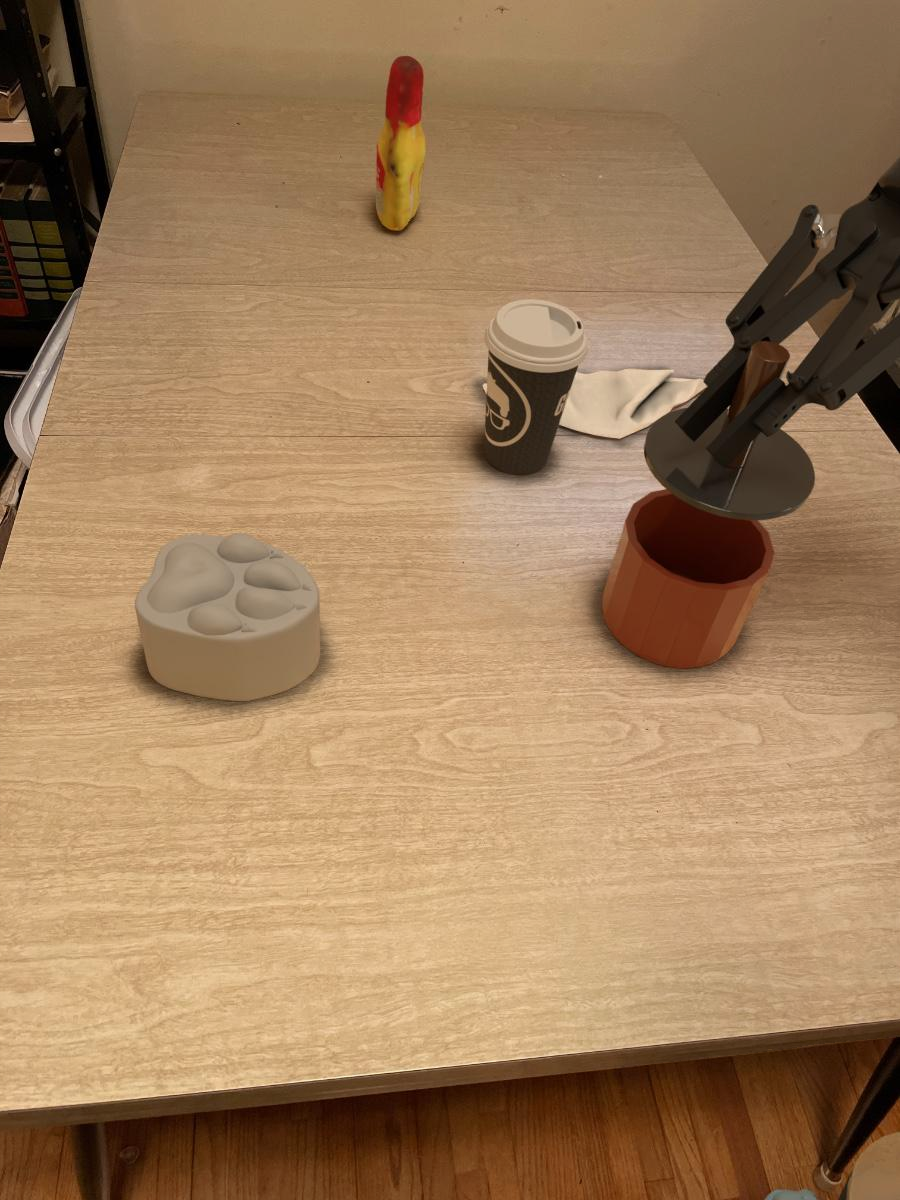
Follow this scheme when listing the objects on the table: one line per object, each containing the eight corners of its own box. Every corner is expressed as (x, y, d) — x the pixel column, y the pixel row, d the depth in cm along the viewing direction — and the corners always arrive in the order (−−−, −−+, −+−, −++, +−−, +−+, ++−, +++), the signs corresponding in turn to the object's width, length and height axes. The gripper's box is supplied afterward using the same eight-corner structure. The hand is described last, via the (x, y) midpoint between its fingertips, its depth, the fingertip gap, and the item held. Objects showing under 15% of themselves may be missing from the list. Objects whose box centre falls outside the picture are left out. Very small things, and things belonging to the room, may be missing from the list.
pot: (762, 650, 82) (803, 572, 75) (643, 682, 78) (674, 603, 71) (691, 556, 89) (722, 477, 82) (578, 582, 85) (600, 501, 79)
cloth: (484, 431, 99) (487, 413, 98) (480, 357, 109) (483, 339, 107) (730, 449, 101) (737, 431, 99) (705, 374, 110) (711, 357, 109)
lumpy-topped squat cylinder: (179, 589, 80) (167, 511, 74) (332, 613, 80) (333, 538, 74) (135, 685, 73) (118, 609, 67) (303, 713, 73) (301, 639, 67)
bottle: (413, 241, 126) (425, 77, 111) (365, 234, 126) (370, 69, 111) (425, 202, 134) (437, 44, 119) (380, 195, 134) (387, 36, 119)
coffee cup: (546, 496, 93) (576, 363, 82) (454, 467, 95) (472, 332, 84) (573, 442, 99) (604, 311, 89) (486, 415, 101) (506, 284, 90)
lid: (843, 509, 70) (905, 392, 63) (697, 541, 66) (744, 421, 59) (748, 408, 78) (792, 293, 70) (612, 432, 74) (644, 313, 66)
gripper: (1068, 261, 61) (792, 530, 66) (880, 161, 70) (648, 406, 75) (1066, 192, 55) (762, 493, 60) (860, 91, 64) (610, 363, 69)
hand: (700, 444), depth 68 cm, fingers closed on lid, 3 cm apart
